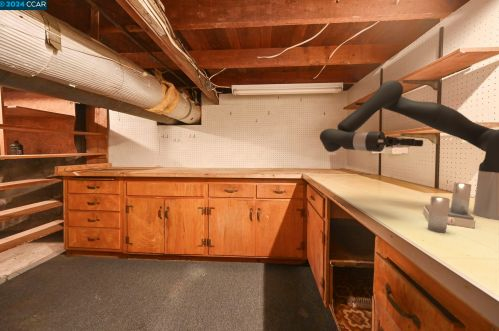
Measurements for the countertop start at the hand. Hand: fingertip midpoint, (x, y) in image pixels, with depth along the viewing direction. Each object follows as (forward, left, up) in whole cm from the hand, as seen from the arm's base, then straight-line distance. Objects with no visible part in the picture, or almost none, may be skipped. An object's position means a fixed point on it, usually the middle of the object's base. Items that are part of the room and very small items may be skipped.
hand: (418, 142), depth 78 cm
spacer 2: (-8, +14, -23) cm, 28 cm away
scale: (-9, +11, -26) cm, 30 cm away
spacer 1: (+7, +6, -26) cm, 28 cm away
